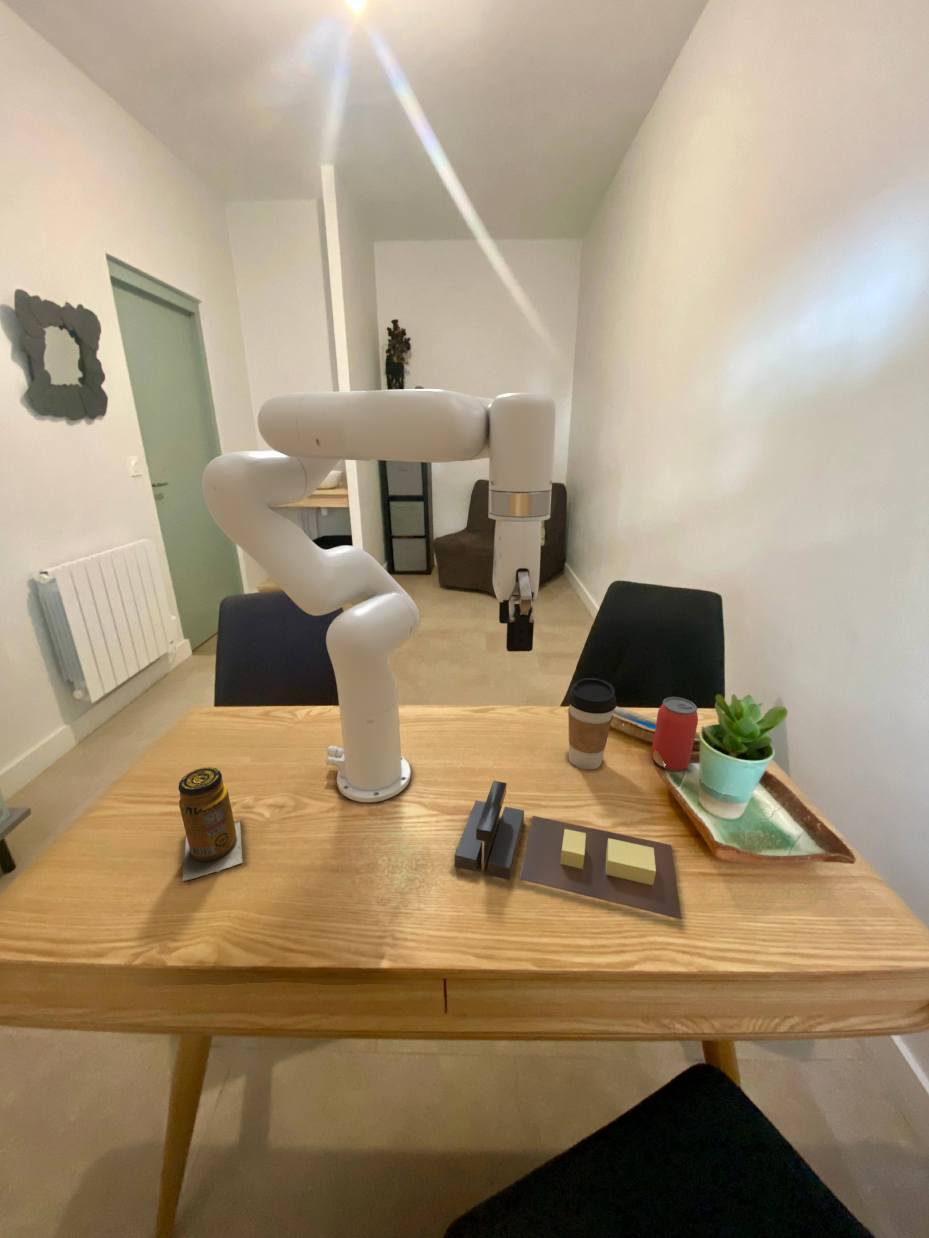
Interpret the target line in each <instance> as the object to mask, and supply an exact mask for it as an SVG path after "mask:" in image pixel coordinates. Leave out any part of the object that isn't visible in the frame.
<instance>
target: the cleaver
mask: <svg viewBox="0 0 929 1238" xmlns="http://www.w3.org/2000/svg"><path fill="white" fill-rule="evenodd" d="M506 795H507V782H502V781H497V780H492V784H491V786H490V789H489V792H488V795H487V797H486V800H485V802H486V803H485V806H484V809H483V811H482V814H481V817H480V820H479V823H478V825H477V828H476V839H477V840H481V841H482V854H481V871H484V870H485V868H486V865H487V862H488V859H489V858H488V857H489V855H490V852H491V849H492V848H491V847H492V846H493V842H494V839H495V838H494V837H495V836H496V832H497V829H498V826H499V823H500V819H501V818H500V817H501V810H502V807H503V804H504V800H505V797H506Z"/></svg>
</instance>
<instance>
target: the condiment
mask: <svg viewBox="0 0 929 1238" xmlns="http://www.w3.org/2000/svg"><path fill="white" fill-rule="evenodd" d="M224 783H225V782H224V779H223V774H222V772H221V771H220V770H219V769H218V768H217V767H201V768H196V769H194V770H191V771H190V772H188V773H187V774H185V775H184V776H183V777H182V778H181V779H180V781H179V782H178V792H179V797H180V798H179V801H178V808H179V811H180V815H181V819H182V822H183V827H184V831H185V835H186V837H185V842H184V843H185V844H184V846H185V847H184V858H183V868H182V869H183V870H182V882H184V881H188V880H193V879H196V878H200V877H204V876H207V875H210V874H213V873H216V872H217V873H218V872H220V871H222V870H225V869H228V868H232V867H234V866H238V865H240V864H243V849H242V834H241V833H242V832H241V821H238V822H235V820H234V814H233V810H232V805H231V801H230V794H229V789H228V787H227V785H226V784H224Z"/></svg>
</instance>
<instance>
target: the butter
mask: <svg viewBox="0 0 929 1238" xmlns="http://www.w3.org/2000/svg"><path fill="white" fill-rule="evenodd" d="M655 874H656V867H655V856H654V848H652V847H647V846H642V845H638V844H633V843H628V842H624V841H619V840H615V839H610V838H608V842H607V849H606V875H610V876H615V877H619V878H623V879H627V880H632V881H636V882H640V883H644V884H649V885H653V884H654V879H655Z"/></svg>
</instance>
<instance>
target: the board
mask: <svg viewBox="0 0 929 1238" xmlns="http://www.w3.org/2000/svg"><path fill="white" fill-rule="evenodd" d="M564 829H568V830H573V831H577V832H582V833H586V841H585V855H584V863H583V869H580V868H576V867H572V866H567V865H563V864H560V863H561V853H562V844H563V837H564ZM608 838H610V839H615V840H619V841H624V842H628V843H633V844H638V845H642V846H647V847H652V848H654V856H655V867H656V874H655V879H654V884H653V885H649V884H644V883H640V882H636V881H632V880H627V879H623V878H619V877H615V876H610V875H606V849H607V842H608ZM520 869H521V870H520V873H519V880H520V881H525V882H527V883H528V882H529V883H532V884H536V885H541V886H545V887H549V888H554V889H556V890H561V891H565V892H570V893H573V894H577V895H581V896H585V897H589V898H594V899H597V900H602V901H605V902H609V903H613V904H618V905H622V906H625V907H629V908H634V909H638V910H641V911H646V912H649V913H654V914H657V915H662V916H665V917H666V916H667V917H670V918H675V919H678V920H682V912H681V904H680V897H679V891H678V883H677V877H676V870H675V862H674V855H673V848H672V844H669V843H663V842H659V841H655V840H649V839H646V838H641V837H635V836H631V835H626V834H623V833H622V834H621V833H616V832H612V831H607V830H604V829H603V830H602V829H599V828H598V829H597V828H593V827H589V826H584V825H578V824H573V823H570V822H566V821H560V820H556V819H550V818H546V817H541V816H536V815H533V816H532V818H531V822H530V829H529V832H528V837H527V841H526V847H525V851H524V855H523V860H522V864H521V868H520Z"/></svg>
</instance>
